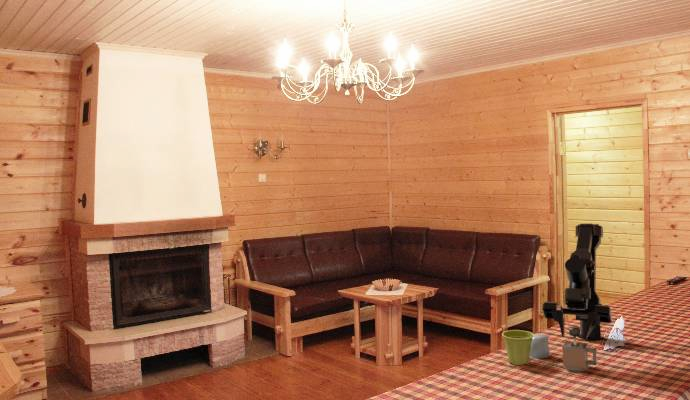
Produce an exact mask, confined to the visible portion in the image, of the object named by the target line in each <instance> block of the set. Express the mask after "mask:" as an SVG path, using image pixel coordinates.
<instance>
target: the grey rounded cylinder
mask: <svg viewBox="0 0 690 400" xmlns="http://www.w3.org/2000/svg"><path fill="white" fill-rule="evenodd" d="M533 334H534V337H533V339H532V342H531V350H530V358H532V359H547V358H549V357H550V346H549V344H550V343H549V335H548V334H544V333H533Z"/></svg>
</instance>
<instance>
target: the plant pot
mask: <svg viewBox="0 0 690 400" xmlns="http://www.w3.org/2000/svg"><path fill="white" fill-rule="evenodd" d="M534 334H535V333H533V332H531V331H527V330H522V329H521V330H520V329H511V330H506V331H503V332H502V334H501V335H502V337H503V340H504V342H505V343H504V344H505V349H506V354H507V355H506V356H507V361H508V363H509V364H510V363H511V364H512V365H515V366H523V365H528V364H529V363H530V358H531V357H530V350H531V342H532V339H533V337H534Z"/></svg>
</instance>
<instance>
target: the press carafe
mask: <svg viewBox="0 0 690 400" xmlns="http://www.w3.org/2000/svg"><path fill="white" fill-rule="evenodd" d="M576 343H577V346H574V341H569V340H567V341H564V343H563V345H562V347H561V349H562V366H563V369H564V370H565V371H568V372H572V373H574V372H575V373H580V372H581V373H582V372H587V371H589V366H597V365H598V363H597V348H596V347H595V348H594V347H588V346H589V343H588V342H579V341H576ZM589 353H592V360H589Z"/></svg>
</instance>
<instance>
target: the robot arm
mask: <svg viewBox="0 0 690 400" xmlns="http://www.w3.org/2000/svg"><path fill="white" fill-rule="evenodd" d="M575 237H576V238H577V241H576V247H575V250H574V251H573V252H572V253H570V256H569V259H567V260H566V261H565V262H564V268H565V272H566V276H567V280H568V281H569V282H568V283H569V285H568V287H566V288H565V289H564V303H565V306H566V307H565V306H561V305H558V302H555V301H544V302H543V303H542V308H541V310H542V312H543V315H544V318H545V319H548V320H549V319H550V320H554V322H557V323H558V326H559V329H560V332H561V337H562V338H564V337H565V322H566V321H565V318H564V315H569V316H575V320H576V321H579V322H580V323H579V324H580V327H579V328H580V336H577V337H578V338H580V339H583V340H586V341H596V340H603V339H605V336H602V330H601V324H603V323H604V324H611V323H612V320H613V319H612V311H611V307H610V305H608V304H607V305H606V304H605V305H604V304H603V303H601V298H600V297H599V295H598V294H597V292H596V290H597V289H596V288H597V286H596V285H597V284H596V283H597V282H596V281H597V280H596V279H597V249H598V248H599V247H600V245H601V243H602V238H604V228H603V226H602V225H600V224H599V223H579V224H578V225H575Z"/></svg>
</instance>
